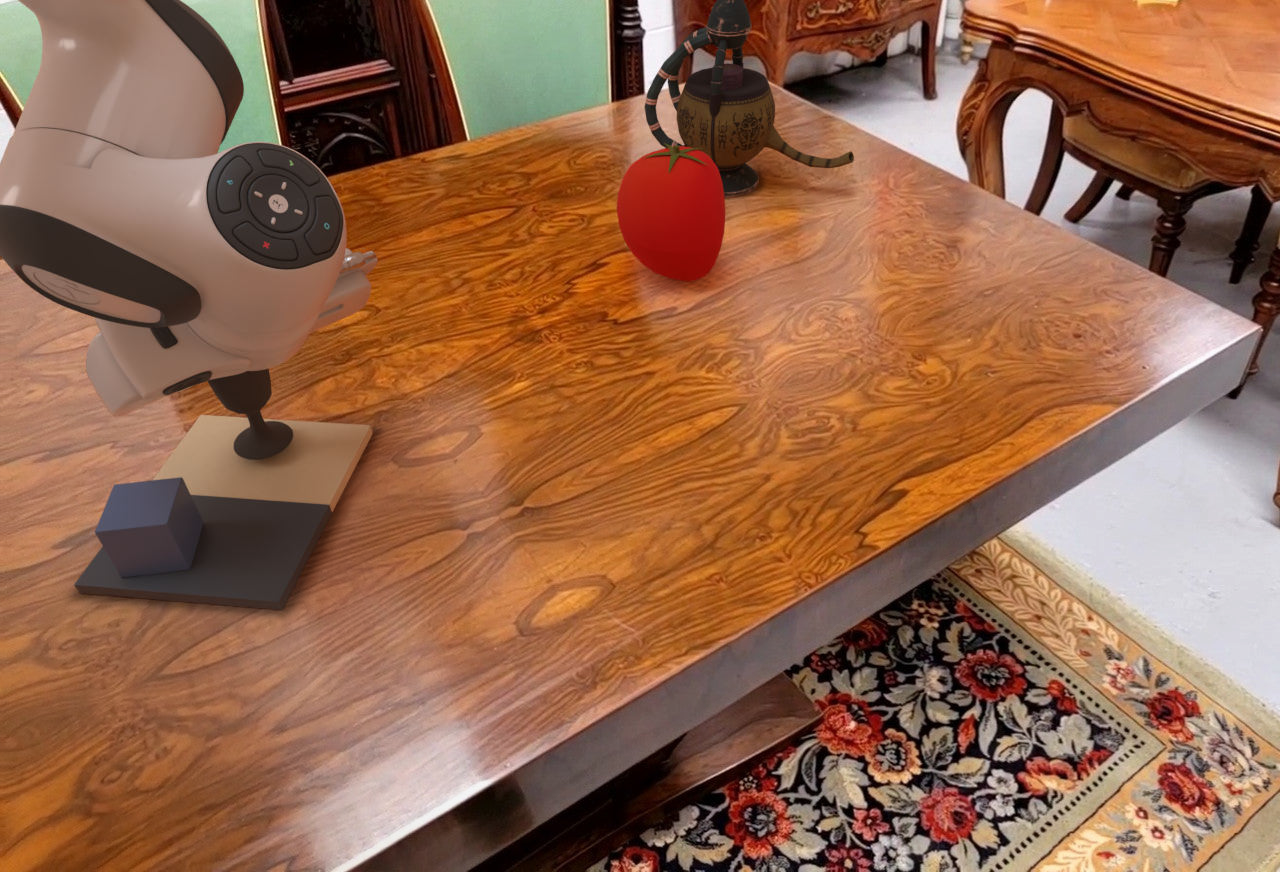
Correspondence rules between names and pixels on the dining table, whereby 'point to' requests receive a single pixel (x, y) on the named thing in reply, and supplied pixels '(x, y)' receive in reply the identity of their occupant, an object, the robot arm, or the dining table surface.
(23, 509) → the dining table surface
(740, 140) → the teapot
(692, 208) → the tomato
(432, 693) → the dining table surface
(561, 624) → the dining table surface
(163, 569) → the blue block
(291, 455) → the board
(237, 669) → the dining table surface
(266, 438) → the sundae
